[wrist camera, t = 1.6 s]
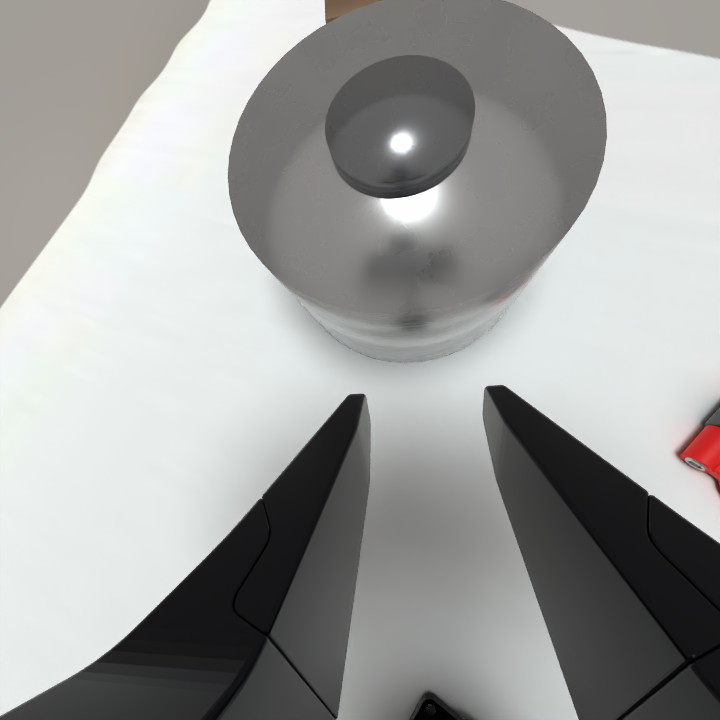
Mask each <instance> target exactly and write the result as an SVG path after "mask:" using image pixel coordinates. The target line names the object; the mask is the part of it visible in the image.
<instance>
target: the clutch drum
mask: <svg viewBox="0 0 720 720" xmlns="http://www.w3.org/2000/svg"><path fill="white" fill-rule="evenodd" d="M606 139H607V129H606V112H605V107H604V102H603V98H602V93H601V90H600V88H599V85H598V83H597V80H596V78H595V75H594V73H593V71H592V69H591V68H590V66H589V64H588V63H587V61H586V60H585V58H584V56H583V55H582V53H581V52H580V51H579V50H578V49H577V48H576V46H575V45H574V44H573V43H572V42H571V41H570V40H569V39H568V37H566V36H565V35H564V34H563V33H562V32H560V31H559V30H558V29H557V28H556V27H554V26H553V25H552V24H551V23H549V22H548V21H546V20H544V19H543V18H541V17H539V16H538V15H536V14H534V13H533V12H531V11H529V10H526V9H524V8H522V7H519V6H517V5H515V4H513V3H509V2H506V1H503V0H382V1H378V2H375V3H372V4H370V5H367V6H364V7H361V8H358V9H356V10H354V11H351V12H349V13H347V14H345V15H342V16H340V17H338V18H336V19H335V20H333V21H331V22H329V23H328V24H326V25H324V26H322V27H320V28H319V29H317V30H316V31H315V32H313V33H312V34H310V35H309V36H307V37H306V38H304V39H303V40H302V41H300V42H299V43H298V44H297V45H296V46H295V47H293V48H292V49H291V50H290V51H289V52H287V53H286V54H285V55H284V56H283V57H282V58H281V59H280V60H279V61H278V62H277V63H276V64H275V66H274V67H273V68H272V69H271V70H270V71H269V72H268V74H267V75H266V76H265V77H264V79H263V80H262V81H261V82H260V84H259V85H258V87H257V88H256V90H255V91H254V93H253V95H252V96H251V98H250V99H249V101H248V103H247V105H246V107H245V109H244V111H243V113H242V115H241V117H240V119H239V122H238V125H237V128H236V131H235V134H234V137H233V141H232V146H231V151H230V155H229V168H228V183H229V195H230V200H231V204H232V209H233V213H234V216H235V218H236V221H237V224H238V226H239V229H240V231H241V233H242V235H243V236H244V238H245V240H246V242H247V243H248V245H249V247H250V248H251V250H252V251H253V252H254V253H255V255H256V256H257V257H258V258H259V259H260V261H261V262H262V263H263V264H264V265H265V266H266V268H267V269H268V270H269V271H270V272H271V273H272V274H273V275H274V276H275V277H276V278H277V279H278V280H279V281H280V282H281V283H282V284H283V285H284V286H285V287H286V288H287V290H288V291H289V292H290V293H291V294H292V295H293V296H294V297H295V298H296V299H297V300H298V301H299V302H300V303H301V304H302V305H303V306H304V307H305V308H306V309H307V311H308V312H309V313H310V314H311V315H312V316H313V317H314V318H315V319H316V320H317V321H318V322H319V323H320V324H321V325H322V326H323V327H324V328H325V329H326V330H327V331H328V332H329V333H330V334H331V335H332V336H333V337H334V338H335V339H336V340H338V341H339V342H341V343H342V344H344V345H345V346H347V347H348V348H350V349H352V350H354V351H356V352H358V353H360V354H363V355H366V356H368V357H371V358H374V359H379V360H384V361H389V362H402V363H408V362H422V361H427V360H433V359H437V358H440V357H443V356H447V355H450V354H452V353H454V352H457V351H459V350H461V349H463V348H465V347H467V346H468V345H470V344H472V343H473V342H475V341H476V340H478V339H479V338H480V337H482V336H483V335H484V334H485V333H486V332H488V331H489V330H490V329H491V328H492V327H493V326H494V325H495V324H496V323H497V322H498V321H499V319H500V318H501V317H502V316H503V315H504V313H505V312H506V311H507V310H508V308H509V307H510V306H511V304H512V303H513V302H514V301H515V299H516V298H517V297H518V295H519V294H520V293H521V292H522V290H523V289H524V288H525V286H526V285H527V284H528V283H529V281H530V280H531V279H532V277H533V276H534V275H535V274H536V272H537V271H538V270H539V268H540V267H541V266H542V265H543V263H544V262H545V261H546V259H547V258H548V257H549V256H550V254H551V253H552V252H553V250H554V249H555V248H556V247H557V245H558V244H559V243H560V241H561V240H562V239H563V238H564V236H565V235H566V234H567V232H568V231H569V230H570V228H571V227H572V225H573V224H574V223H575V221H576V220H577V218H578V217H579V215H580V214H581V212H582V211H583V209H584V208H585V206H586V204H587V202H588V200H589V198H590V196H591V194H592V192H593V190H594V188H595V186H596V183H597V180H598V177H599V174H600V170H601V167H602V164H603V161H604V154H605V146H606Z"/></svg>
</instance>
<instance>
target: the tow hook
mask: <svg viewBox="0 0 720 720" xmlns="http://www.w3.org/2000/svg"><path fill="white" fill-rule="evenodd" d="M704 426H705V428H704V429H703V430H702V431H701V432H700V433H699V434H698V436H697V437H696V438H695V439H694V440H693V441H692V442H691V443H690V445H689V446H688V447H687V448H686V449H685V450H684V451H683V452H682V454H681V455H680V457H681V459H682V460H683V461H684V462H686V463H687V464H689V465H690V466H692V467H694V468H696V469H698V470H700V471H702V472H705V473H709V474H711V475H712V476H713V477H715V478H716V479H717V480H718V482H719V486H720V407H719V408H718V409H717V410H716V411H715V413H714V414H713V415H712V416H711V417H710V418H709V419H708V420H707V422H706V423H705V425H704Z"/></svg>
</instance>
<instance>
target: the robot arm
mask: <svg viewBox="0 0 720 720" xmlns="http://www.w3.org/2000/svg"><path fill="white" fill-rule="evenodd" d="M483 421H484V426H485V431H486V436H487V440H488V445H489V450H490V454H491V459H492V464H493V468H494V473H495V477H496V481H497V484H498V487H499V490H500V493H501V496H502V499H503V502H504V505H505V508H506V511H507V514H508V516H509V519H510V522H511V525H512V528H513V531H514V534H515V537H516V540H517V542H518V545H519V548H520V551H521V554H522V557H523V560H524V563H525V566H526V568H527V571H528V574H529V577H530V580H531V583H532V586H533V589H534V592H535V594H536V597H537V600H538V603H539V606H540V609H541V612H542V615H543V617H544V620H545V623H546V626H547V629H548V632H549V635H550V638H551V641H552V643H553V646H554V649H555V652H556V655H557V658H558V661H559V664H560V667H561V669H562V672H563V675H564V678H565V681H566V684H567V687H568V690H569V693H570V695H571V698H572V701H573V704H574V707H575V710H576V713H577V716H578V719H579V720H720V543H718V542H717V541H716V540H714V539H713V538H711V537H710V536H709V535H707V534H706V533H704V532H703V531H702V530H700V529H699V528H697V527H696V526H695V525H693V524H692V523H690V522H689V521H688V520H686V519H685V518H683V517H682V516H681V515H679V514H678V513H676V512H675V511H674V510H672V509H671V508H670V507H668V506H667V505H665V504H664V503H663V502H661V501H660V500H659V499H657V498H656V497H655V496H653V495H649V496H648V492H647V491H646V490H645V489H644V488H642V487H641V486H640V485H638V484H637V483H636V482H634V481H633V480H631V479H630V478H629V477H627V476H626V475H625V474H623V473H622V472H621V471H619V470H618V469H617V468H615V467H614V466H613V465H611V464H610V463H608V462H607V461H606V460H604V459H603V458H602V457H600V456H599V455H598V454H596V453H595V452H594V451H592V450H591V449H590V448H588V447H587V446H586V445H584V444H583V443H581V442H580V441H579V440H577V439H576V438H575V437H573V436H572V435H571V434H569V433H568V432H567V431H565V430H564V429H563V428H561V427H560V426H559V425H557V424H556V423H554V422H553V421H552V420H550V419H549V418H548V417H546V416H545V415H544V414H542V413H541V412H540V411H538V410H537V409H536V408H534V407H533V406H531V405H530V404H529V403H527V402H526V401H525V400H523V399H522V398H521V397H519V396H518V395H517V394H515V393H514V392H513V391H511V390H510V389H509V388H507V387H506V386H504V385H495V386H487V387H486V388H485V390H484V401H483ZM370 439H371V423H370V415H369V410H368V404H367V399H366V396H365V395H364V394H351V395H348V396H347V397H346V399H345V400H344V401H343V402H342V403H341V404H340V406H339V407H338V408H337V409H336V410H335V411H334V413H333V414H332V415H331V416H330V417H329V418H328V420H327V421H326V422H325V423H324V424H323V425H322V427H321V428H320V429H319V430H318V431H317V432H316V434H315V435H314V436H313V437H312V438H311V439H310V441H309V442H308V443H307V444H306V445H305V446H304V448H303V449H302V450H301V451H300V452H299V453H298V455H297V456H296V457H295V458H294V459H293V461H292V462H291V463H290V464H289V465H288V466H287V468H286V469H285V470H284V471H283V472H282V473H281V475H280V476H279V477H278V478H277V479H276V480H275V482H274V483H273V484H272V485H271V486H270V487H269V489H268V490H267V491H266V492H265V493H264V494H263V496H262V499H263V500H262V499H259V500H258V501H257V502H256V504H255V505H254V506H253V507H252V508H251V509H250V511H249V512H248V513H247V514H246V515H245V516H244V517H243V519H242V520H241V521H240V522H239V523H238V524H237V525H236V526H235V527H234V529H233V530H232V531H231V532H230V533H229V534H228V535H227V536H226V537H225V538H224V539H223V540H222V541H221V543H220V544H219V545H218V546H217V547H216V548H215V549H214V550H213V551H212V552H211V553H210V554H209V555H208V556H207V557H206V558H205V559H204V560H203V561H202V562H201V563H200V564H199V565H198V566H197V567H196V568H195V569H194V570H193V571H192V572H191V573H190V574H189V575H188V576H187V577H186V578H185V579H184V580H183V581H182V582H181V583H180V584H179V585H178V586H177V587H176V588H175V589H174V590H173V591H172V592H171V593H170V594H169V595H168V596H167V597H166V598H165V599H164V600H163V601H162V602H161V603H160V604H159V605H158V606H157V607H156V608H155V609H154V610H153V611H152V612H151V613H150V614H149V615H148V616H147V617H146V618H145V619H144V620H143V621H141V622H140V623H139V624H138V625H137V626H136V627H135V628H134V629H133V630H132V631H131V632H130V633H129V634H128V635H127V636H126V637H125V638H124V639H122V640H121V641H120V642H119V643H118V644H116V645H115V646H114V647H113V648H112V649H111V650H109V651H108V652H107V653H105V654H104V655H103V656H101V657H100V658H99V659H97V660H96V661H95V662H93V663H92V664H90V665H89V666H87V667H86V668H84V669H83V670H81V671H80V672H78V673H76V674H75V675H73V676H71V677H70V678H68V679H66V680H64V681H62V682H61V683H59V684H57V685H55V686H54V687H52V688H50V689H48V690H46V691H45V692H43V693H41V694H39V695H37V696H36V697H34V698H32V699H30V700H28V701H27V702H25V703H23V704H21V705H19V706H18V707H16V708H14V709H12V710H11V711H9V712H7V713H5V714H3V715H2V716H0V720H335V719H337V717H338V710H339V702H340V695H341V688H342V681H343V673H344V666H345V659H346V652H347V644H348V637H349V630H350V623H351V615H352V608H353V601H354V594H355V587H356V579H357V572H358V565H359V558H360V550H361V543H362V536H363V529H364V521H365V514H366V507H367V500H368V492H369V483H370ZM428 704H431V705H433V706H434V708H433V709H429V708H427V705H428ZM410 720H467V719H462V718H461V717H460V716H459V715H458V714H456V713H455V712H454V711H453V710H452V709H451V708H449V707H448V706H447V705H446V704H445V703H443V702H442V701H441V700H440V699H439V698H438V697H436V696H435V695H434V694H432V693H427V694H425V695H424V696H423V697H422V699H421V700H420V702H419V704H418V706H417V708H416V709H415V711H414V713H413V715H412V717H411V718H410Z"/></svg>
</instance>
